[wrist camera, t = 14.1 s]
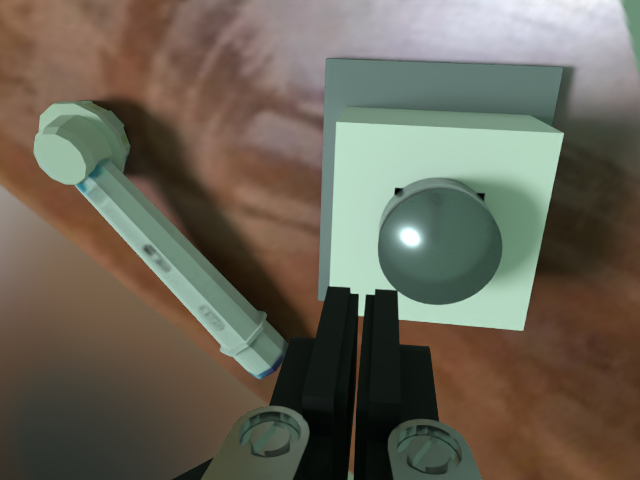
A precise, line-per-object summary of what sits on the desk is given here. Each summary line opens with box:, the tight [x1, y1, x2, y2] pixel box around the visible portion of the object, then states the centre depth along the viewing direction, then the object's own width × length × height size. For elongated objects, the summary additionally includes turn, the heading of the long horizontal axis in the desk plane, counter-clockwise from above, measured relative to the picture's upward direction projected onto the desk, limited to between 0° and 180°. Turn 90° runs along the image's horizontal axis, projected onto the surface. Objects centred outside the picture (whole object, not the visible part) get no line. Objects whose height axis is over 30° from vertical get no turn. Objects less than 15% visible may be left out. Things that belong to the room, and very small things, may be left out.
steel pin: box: [378, 178, 503, 305], centre depth 31 cm, size 6×6×9 cm
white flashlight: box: [34, 101, 288, 380], centre depth 39 cm, size 5×7×25 cm
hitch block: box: [318, 58, 564, 331], centre depth 33 cm, size 18×15×8 cm
